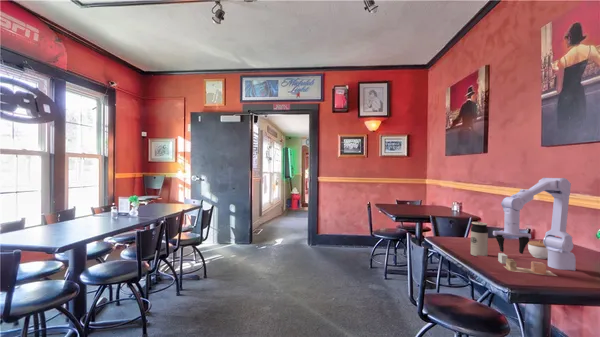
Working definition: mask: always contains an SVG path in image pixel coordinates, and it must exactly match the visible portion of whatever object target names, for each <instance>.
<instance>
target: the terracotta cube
mask: <svg viewBox="0 0 600 337" xmlns="http://www.w3.org/2000/svg"><path fill="white" fill-rule="evenodd" d="M530 269H531V270H532V271H533V272H535V273H543V274H546V271H547V264H546V263H543V262H541V261H531V262H530Z"/></svg>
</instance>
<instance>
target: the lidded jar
mask: <svg viewBox="0 0 600 337" xmlns="http://www.w3.org/2000/svg"><path fill="white" fill-rule="evenodd" d="M527 248H528V252H529V253H530V255H531V256H532V257H534V258H535V259H541V260H548V249H546V246H545V245H544V243H543V241H542V240H541V239H539V240H529V242H528V243H527Z"/></svg>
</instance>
